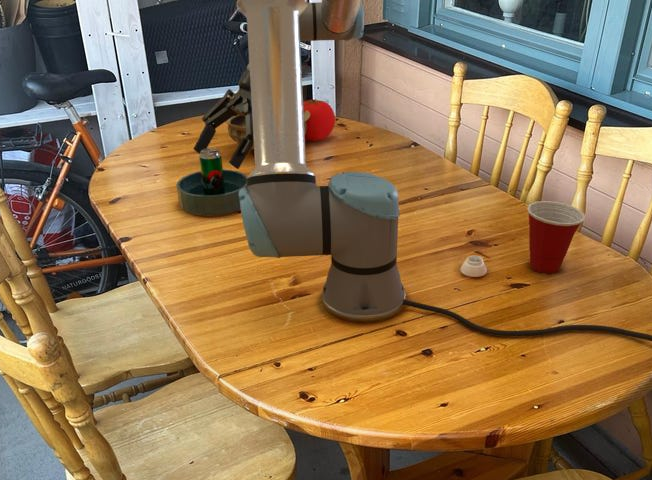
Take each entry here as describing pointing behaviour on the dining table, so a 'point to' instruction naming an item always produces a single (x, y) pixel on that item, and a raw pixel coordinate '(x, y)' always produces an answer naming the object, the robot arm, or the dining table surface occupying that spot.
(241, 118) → the ceramic bowl
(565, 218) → the plastic cup
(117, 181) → the dining table surface
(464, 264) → the lidless jar
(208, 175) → the soda can
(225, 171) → the glazed bowl
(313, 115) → the tomato
